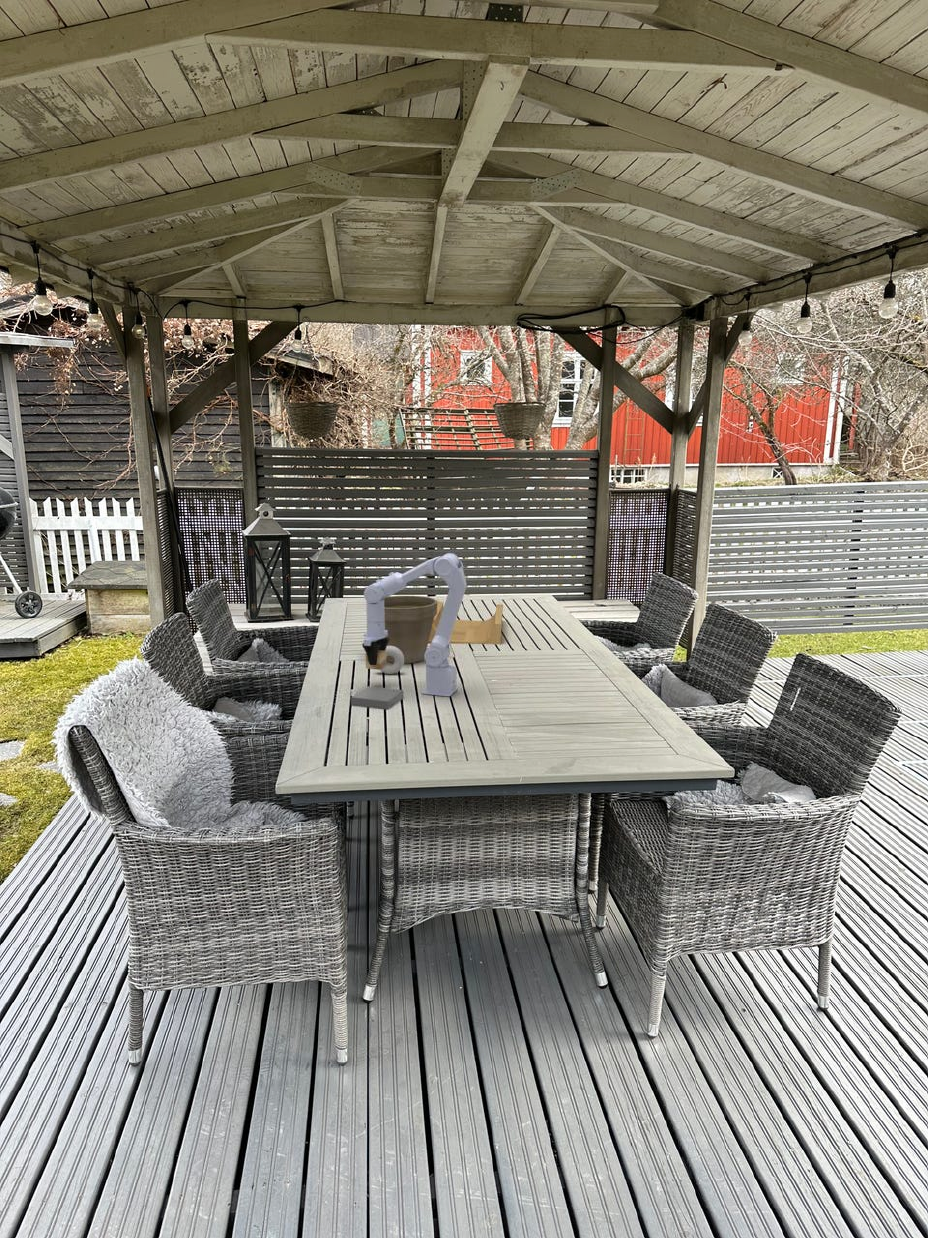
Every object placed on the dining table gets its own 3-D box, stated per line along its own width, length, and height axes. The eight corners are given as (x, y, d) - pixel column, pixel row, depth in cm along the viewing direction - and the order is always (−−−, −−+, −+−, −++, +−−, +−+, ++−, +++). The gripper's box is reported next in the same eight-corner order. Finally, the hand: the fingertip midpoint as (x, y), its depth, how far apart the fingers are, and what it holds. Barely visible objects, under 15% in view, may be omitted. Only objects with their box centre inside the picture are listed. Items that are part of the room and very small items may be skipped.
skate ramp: (500, 647, 314) (502, 608, 310) (411, 643, 316) (412, 603, 312) (501, 625, 353) (503, 590, 349) (422, 621, 355) (423, 586, 351)
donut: (374, 675, 270) (374, 646, 268) (376, 672, 273) (375, 644, 271) (404, 675, 270) (403, 647, 267) (405, 672, 273) (404, 644, 271)
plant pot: (355, 662, 286) (354, 603, 281) (392, 647, 307) (392, 592, 303) (415, 671, 275) (414, 610, 270) (449, 655, 296) (449, 598, 291)
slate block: (403, 699, 246) (403, 690, 245) (388, 711, 235) (387, 701, 234) (368, 695, 249) (368, 686, 249) (351, 706, 238) (351, 697, 238)
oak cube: (386, 665, 256) (386, 650, 255) (380, 669, 251) (380, 654, 250) (372, 664, 257) (372, 649, 256) (365, 668, 253) (365, 653, 252)
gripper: (373, 615, 259) (374, 656, 262) (354, 624, 246) (355, 667, 248) (393, 617, 257) (393, 657, 260) (375, 626, 243) (376, 669, 246)
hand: (376, 662), depth 254 cm, fingers closed on oak cube, 5 cm apart
